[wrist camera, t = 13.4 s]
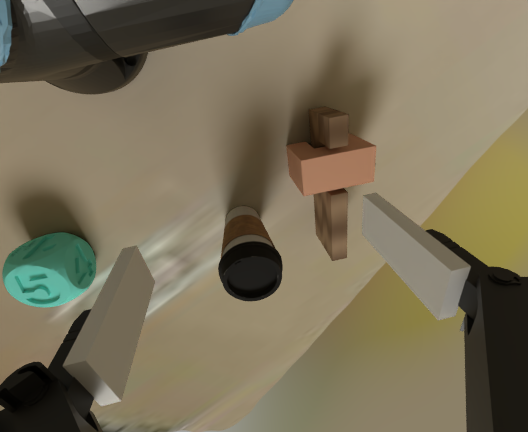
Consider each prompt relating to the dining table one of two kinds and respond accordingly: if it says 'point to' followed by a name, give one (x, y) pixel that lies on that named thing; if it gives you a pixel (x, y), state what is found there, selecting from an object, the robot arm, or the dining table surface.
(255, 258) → the coffee cup
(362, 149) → the notched block
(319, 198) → the slotted board
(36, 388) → the robot arm
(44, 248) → the decorative dice
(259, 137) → the dining table surface
